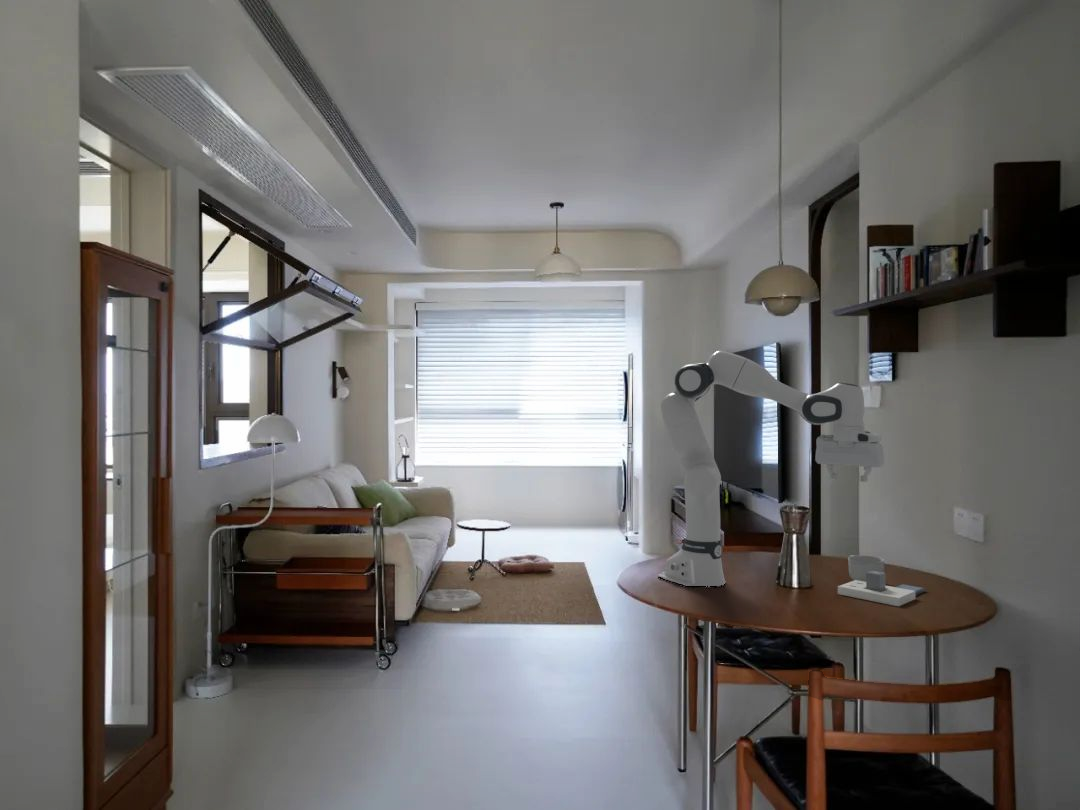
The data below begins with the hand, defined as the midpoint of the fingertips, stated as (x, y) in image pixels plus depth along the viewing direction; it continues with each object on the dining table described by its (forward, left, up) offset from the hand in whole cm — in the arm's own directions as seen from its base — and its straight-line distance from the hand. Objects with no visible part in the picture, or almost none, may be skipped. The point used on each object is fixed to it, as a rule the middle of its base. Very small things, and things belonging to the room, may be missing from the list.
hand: (848, 480), depth 218 cm
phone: (+11, +15, -35) cm, 39 cm away
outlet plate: (+7, +3, -35) cm, 36 cm away
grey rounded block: (-4, +19, -35) cm, 40 cm away
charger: (+7, +3, -35) cm, 36 cm away
